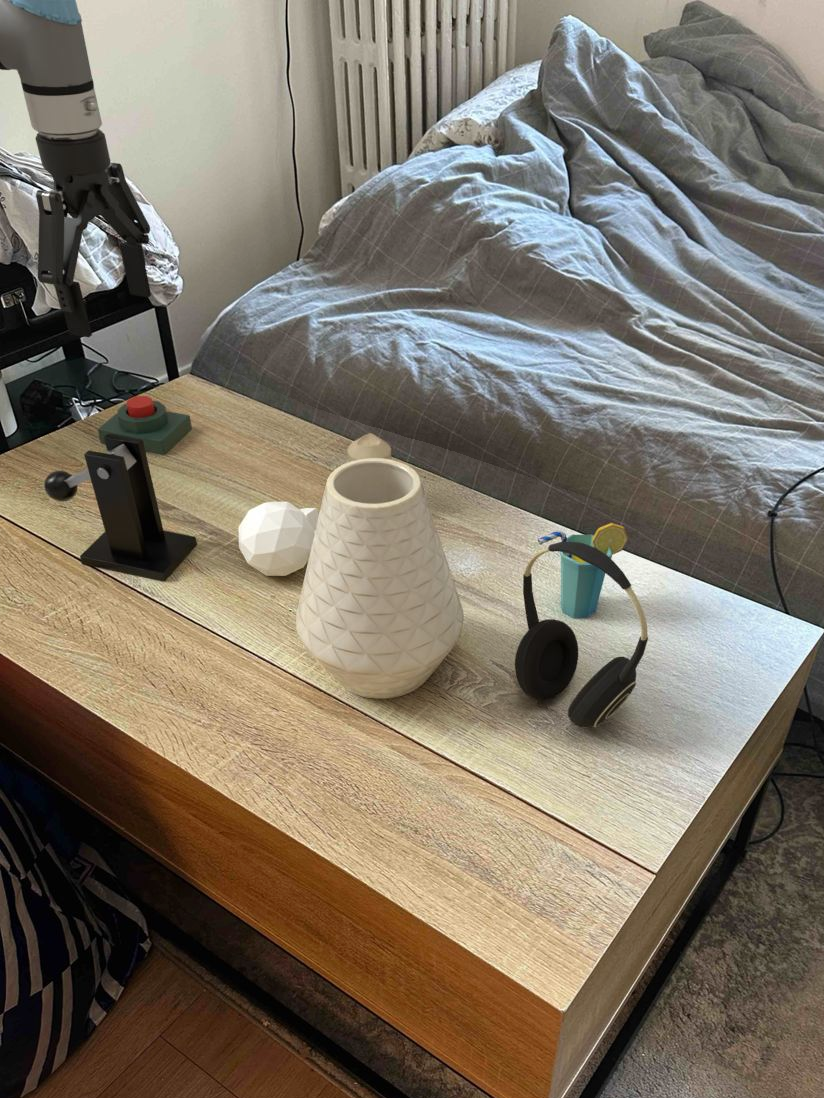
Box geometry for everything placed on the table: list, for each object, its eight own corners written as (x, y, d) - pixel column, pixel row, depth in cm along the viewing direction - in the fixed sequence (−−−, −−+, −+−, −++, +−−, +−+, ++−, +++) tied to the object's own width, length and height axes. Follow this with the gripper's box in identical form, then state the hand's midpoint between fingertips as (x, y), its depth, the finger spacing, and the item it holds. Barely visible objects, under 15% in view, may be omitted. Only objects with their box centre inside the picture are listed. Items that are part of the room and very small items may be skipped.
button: (123, 416, 136) (121, 405, 135) (137, 405, 139) (134, 394, 137) (147, 420, 135) (144, 409, 134) (160, 409, 138) (157, 398, 137)
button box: (100, 443, 137) (94, 417, 135) (130, 417, 143) (124, 392, 140) (164, 455, 136) (159, 429, 133) (192, 428, 141) (187, 403, 139)
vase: (430, 738, 98) (429, 552, 82) (273, 698, 101) (244, 511, 85) (482, 633, 110) (490, 454, 95) (341, 600, 113) (327, 422, 98)
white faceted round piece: (295, 590, 111) (349, 548, 121) (271, 516, 107) (329, 478, 116) (237, 590, 115) (293, 549, 124) (211, 518, 111) (272, 481, 120)
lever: (52, 510, 115) (31, 485, 113) (70, 495, 117) (50, 470, 116) (127, 478, 109) (106, 451, 107) (143, 462, 111) (123, 435, 109)
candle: (356, 493, 131) (351, 426, 124) (396, 497, 130) (394, 430, 124) (347, 516, 127) (342, 448, 120) (388, 520, 126) (386, 452, 120)
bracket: (81, 564, 116) (48, 455, 106) (117, 528, 122) (89, 422, 112) (165, 581, 115) (139, 472, 105) (197, 544, 120) (176, 438, 110)
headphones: (602, 762, 96) (630, 605, 83) (491, 692, 103) (499, 536, 90) (650, 718, 101) (684, 563, 88) (541, 653, 108) (556, 500, 95)
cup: (544, 637, 110) (553, 551, 102) (519, 606, 114) (525, 521, 106) (626, 611, 114) (641, 527, 106) (599, 582, 118) (611, 498, 110)
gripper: (29, 163, 101) (80, 358, 115) (156, 110, 118) (187, 283, 133) (-33, 155, 102) (25, 348, 116) (102, 103, 120) (138, 276, 134)
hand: (112, 314), depth 125 cm, fingers open, 13 cm apart
